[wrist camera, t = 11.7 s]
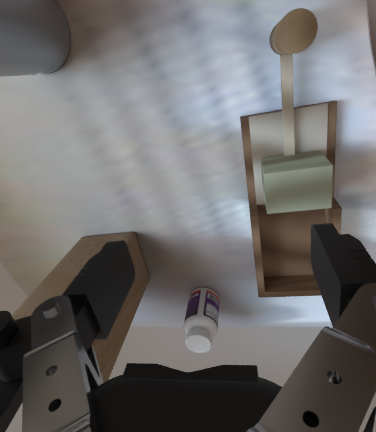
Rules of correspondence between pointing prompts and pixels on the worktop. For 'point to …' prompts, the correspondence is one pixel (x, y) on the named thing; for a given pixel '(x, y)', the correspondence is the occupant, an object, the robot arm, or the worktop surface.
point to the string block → (293, 162)
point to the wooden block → (66, 274)
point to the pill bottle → (201, 319)
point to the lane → (287, 221)
